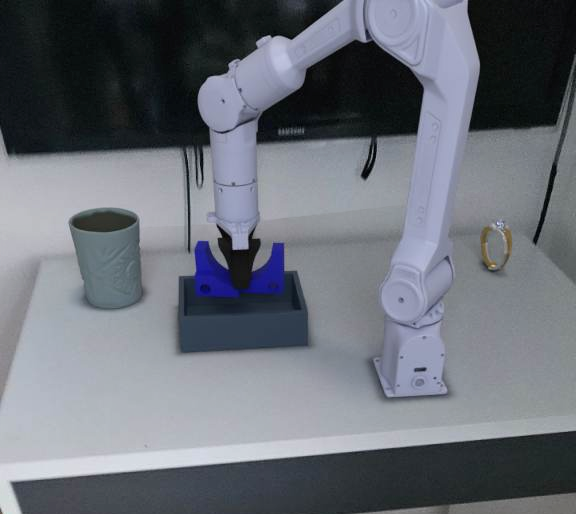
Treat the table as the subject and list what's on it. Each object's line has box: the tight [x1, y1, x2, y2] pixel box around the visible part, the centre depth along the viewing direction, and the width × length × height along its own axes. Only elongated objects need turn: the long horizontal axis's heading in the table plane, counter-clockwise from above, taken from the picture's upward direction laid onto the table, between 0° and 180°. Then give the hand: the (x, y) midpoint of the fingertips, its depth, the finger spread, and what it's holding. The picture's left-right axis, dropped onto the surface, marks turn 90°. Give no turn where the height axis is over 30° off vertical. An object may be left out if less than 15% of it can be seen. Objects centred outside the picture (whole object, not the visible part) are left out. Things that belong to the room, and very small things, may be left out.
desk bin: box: [177, 270, 309, 353], centre depth 110 cm, size 14×18×5 cm
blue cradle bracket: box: [193, 240, 285, 297], centre depth 105 cm, size 12×4×6 cm, turn 86°
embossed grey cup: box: [68, 207, 143, 310], centre depth 115 cm, size 10×10×12 cm
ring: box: [480, 218, 513, 271], centre depth 123 cm, size 7×3×8 cm, turn 16°
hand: (240, 279), depth 107 cm, fingers closed on blue cradle bracket, 5 cm apart
